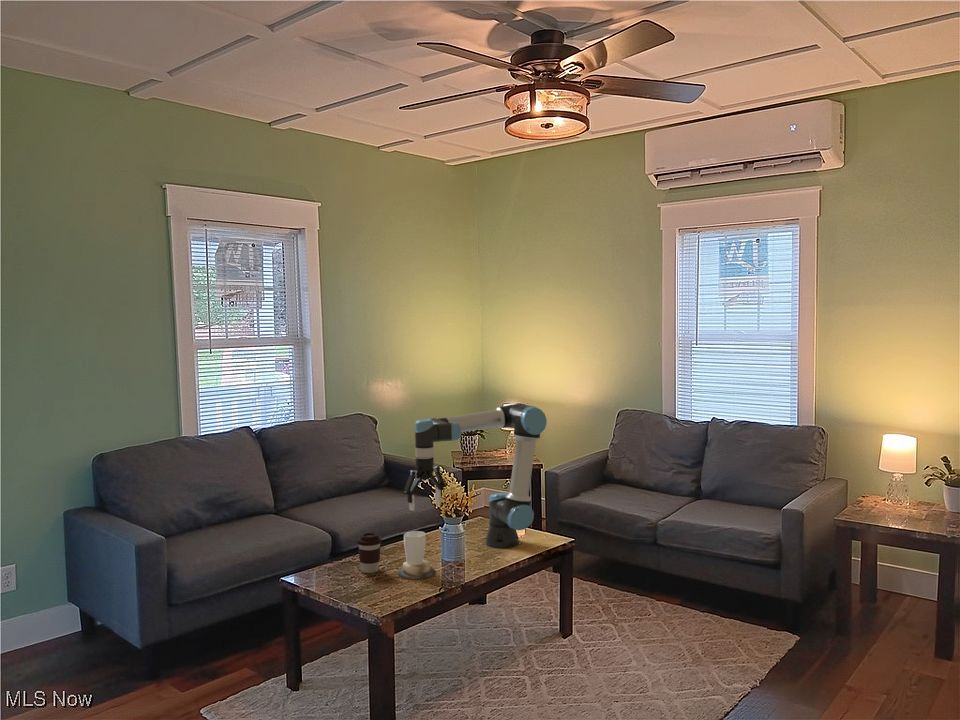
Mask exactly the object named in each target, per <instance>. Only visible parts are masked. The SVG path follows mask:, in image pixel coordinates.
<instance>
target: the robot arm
mask: <svg viewBox="0 0 960 720" xmlns="http://www.w3.org/2000/svg"><path fill="white" fill-rule="evenodd" d="M547 422H548V421H547V417H546V414H545V412H544V411H543V410H542V409H540V408H539V407H537V406H534V405H528V404H525V403H514V404H509V405H503V406H497V407H496V408H495V409H493V410H486V411H480V412H474V413H467V414H466V413H465V414H459V415H453V416H447V417H446V416H445V417H442V418H441V417H440V418H436V417H430V418H428V419H418V420H416V421H415V422H414V423H415V424H414V442H415V444H414V445H415V451H414V453H415V455H414V456H415V458H414V459H415V460H414V461H415V468H416V470H412V469H410V470H409V474H408V475H409V476H408V478H407V480H406V483H405V486H404V488H403V492H402V493H403V494H405V495H407V503H408V511H411V512H415V495H414V493H415V491H416V490H417V488H418V486H419V484H420V483H421V482H422V481H425V480H430V481H431V482H432V484H433V485H434V486H435V487H436V488H435V505H436V506H442V497H443V490H445V489H444V488H446V487H447V485H446V481H445V479H444V478H443V476H442V473H441V470H440V466H436V465H435V463H434V462H435V461H434V454H435V453H434V452H435V451H434V450H435V449H434V443H437V442H438V443H439V442H453V441H457V440H460V438H461V435H462V433H465V432H472V431H478V430H483V429H490V428H491V429H492V428H496V427H497V428H499V429H506V428H508V429H509V428H510V429H513V436H514V437H515V445H514V446H515V448H514V456H513V463H512V469H511V477H510V485H509V491H507V492H504V491H502V492H495V493H491V494H490V495H489V499H488V509H489V510H488V513H489V514H488V517H489V527H488V530H487V533H486V536H485V545H487V546H488V547H490V548H491V547H493V548H498V549H499V548H500V549H504V548H512V547H516V546H518V545H519V543H520V541H519V535H518V532H517V531H524V530H527V529H528V527H530V526H531V525H532V523H533V521H534V517H535V513H534V509H533V508H532V507H531V506H532V498H531V497H530V487H531V479H532V472H533V464H534V456H535V451H536V450H535V449H536V443H537V441H538V440H540V438H541V434H542V433H543V432H544V431H545V429H546V427H547ZM434 474H435V475H434Z"/></svg>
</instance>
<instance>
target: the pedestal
mask: <svg viewBox="0 0 960 720" xmlns="http://www.w3.org/2000/svg"><path fill="white" fill-rule="evenodd" d="M435 574H436V570H435V568H433V567H432V566H431V562H430V561H429V560H427V559H424V560H423V563H422V564H420V565H409V564H407V561H404V562H403V563H402V567H401V568H400V569H399V570H398V571H397V575H398V576H399V578H401V579H404V580H413V581H414V580H415V581H416V580H424V579H429V578H432V577H434V576H435Z"/></svg>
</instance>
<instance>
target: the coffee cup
mask: <svg viewBox="0 0 960 720" xmlns="http://www.w3.org/2000/svg"><path fill="white" fill-rule="evenodd" d="M356 543H357V544H358V557H359V558H358V560H359V563H360V571H361V573H363V574H373V573H376V572H378V571H380V570H379V569H380V561H381V543H382V537H381V536H379V534H378V533H376V532H364V533H361V535H360V536H359V537H358V538H357V539H356Z"/></svg>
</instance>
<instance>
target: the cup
mask: <svg viewBox="0 0 960 720" xmlns="http://www.w3.org/2000/svg"><path fill="white" fill-rule="evenodd" d="M426 543H427V539H426V532H424V531H421V530H411V531H407V532H406V531H405V533H403V545H404V546H403V547H404V551H405V559H406V561H407V564H409V565H420V564H422V563H423V560H425V559H424V558H425V552H426V551H425V550H426Z"/></svg>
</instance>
